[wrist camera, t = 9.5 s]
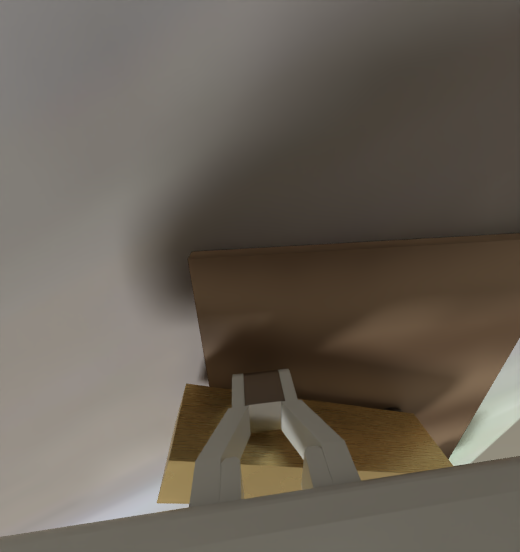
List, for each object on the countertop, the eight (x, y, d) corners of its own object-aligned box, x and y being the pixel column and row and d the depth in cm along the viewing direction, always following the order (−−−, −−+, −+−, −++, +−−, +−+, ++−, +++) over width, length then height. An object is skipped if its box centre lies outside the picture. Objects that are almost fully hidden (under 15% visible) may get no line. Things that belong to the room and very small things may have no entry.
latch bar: (412, 406, 14) (474, 487, 11) (388, 435, 15) (437, 516, 12) (188, 375, 11) (165, 474, 7) (177, 413, 12) (153, 517, 9)
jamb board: (191, 251, 10) (155, 317, 5) (551, 231, 11) (764, 268, 7) (233, 508, 20) (233, 607, 15) (420, 478, 21) (471, 560, 17)
